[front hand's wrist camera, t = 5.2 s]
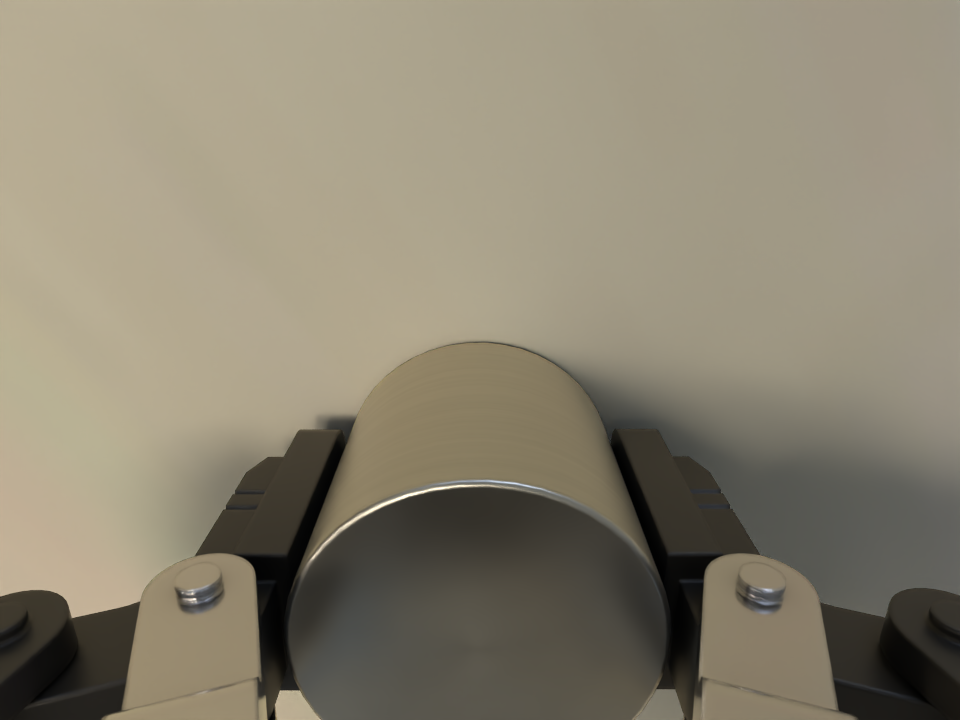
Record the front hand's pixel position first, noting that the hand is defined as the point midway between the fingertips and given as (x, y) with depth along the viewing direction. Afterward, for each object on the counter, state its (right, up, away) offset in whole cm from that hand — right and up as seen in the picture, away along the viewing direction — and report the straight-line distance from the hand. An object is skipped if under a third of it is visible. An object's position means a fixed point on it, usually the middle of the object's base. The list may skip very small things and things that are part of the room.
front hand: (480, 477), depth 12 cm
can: (0, 0, 0) cm, 0 cm away
